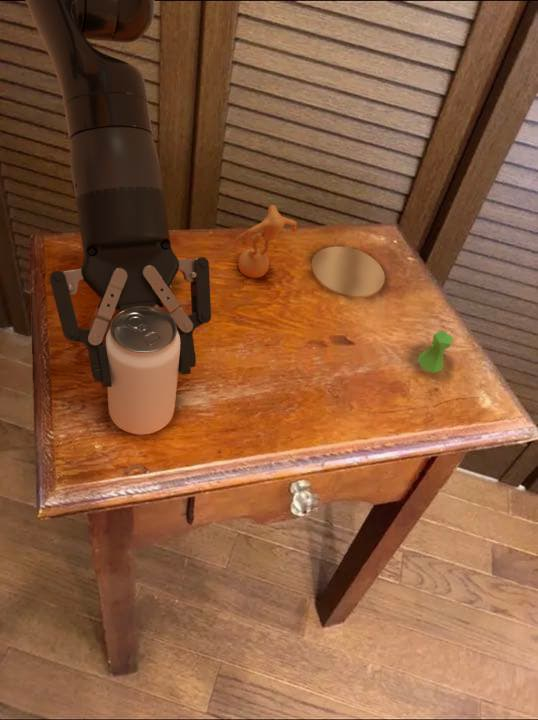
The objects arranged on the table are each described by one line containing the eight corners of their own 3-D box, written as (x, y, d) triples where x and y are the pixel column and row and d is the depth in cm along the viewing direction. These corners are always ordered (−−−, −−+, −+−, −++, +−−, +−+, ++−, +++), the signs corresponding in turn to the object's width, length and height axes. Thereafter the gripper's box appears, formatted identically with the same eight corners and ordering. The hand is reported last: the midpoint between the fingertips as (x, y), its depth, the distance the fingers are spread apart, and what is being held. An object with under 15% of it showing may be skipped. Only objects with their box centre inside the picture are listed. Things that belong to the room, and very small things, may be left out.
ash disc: (307, 296, 76) (310, 287, 75) (310, 249, 82) (313, 240, 81) (383, 310, 76) (386, 301, 75) (379, 262, 83) (383, 253, 82)
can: (148, 375, 62) (151, 291, 53) (187, 414, 60) (197, 334, 51) (95, 405, 59) (89, 320, 50) (134, 448, 56) (135, 368, 47)
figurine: (272, 260, 79) (289, 182, 71) (293, 289, 76) (313, 211, 67) (216, 271, 76) (226, 191, 67) (235, 302, 73) (248, 222, 64)
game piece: (413, 381, 69) (432, 346, 65) (406, 353, 72) (423, 319, 67) (448, 383, 70) (469, 349, 65) (439, 356, 72) (459, 322, 68)
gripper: (31, 187, 45) (65, 399, 47) (210, 179, 50) (235, 371, 52) (32, 204, 52) (62, 389, 54) (189, 196, 57) (211, 364, 59)
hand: (147, 379), depth 53 cm, fingers closed on can, 6 cm apart
